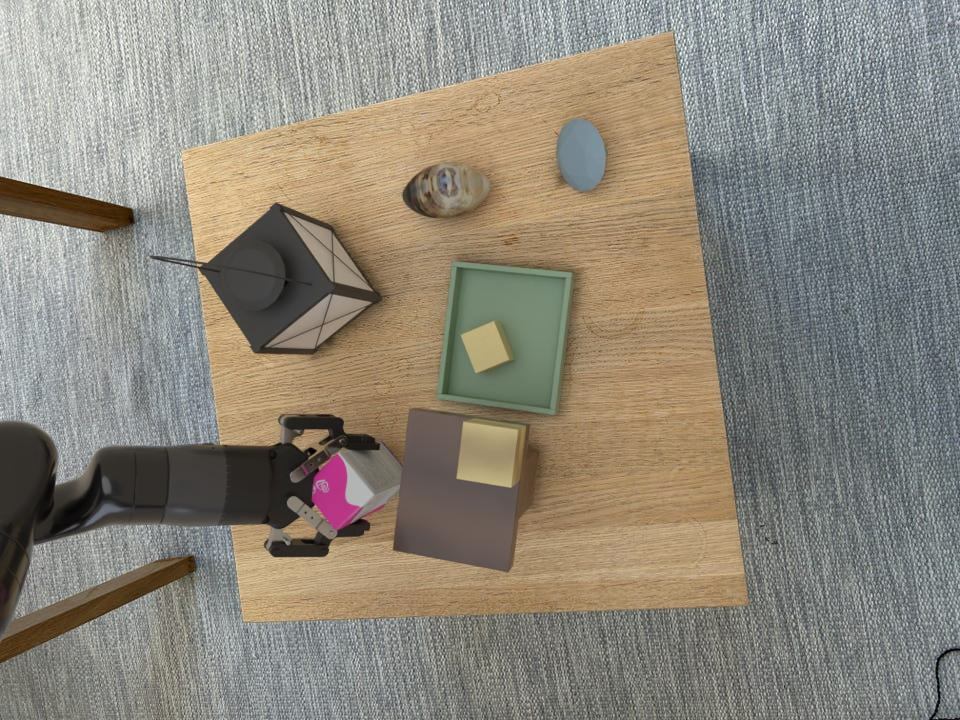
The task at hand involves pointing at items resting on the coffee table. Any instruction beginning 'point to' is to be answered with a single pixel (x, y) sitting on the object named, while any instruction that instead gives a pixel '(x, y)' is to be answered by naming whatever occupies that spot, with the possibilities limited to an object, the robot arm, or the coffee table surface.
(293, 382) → the coffee table surface
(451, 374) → the butter dish
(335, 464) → the supplement box
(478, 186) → the seashell
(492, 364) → the butter pat
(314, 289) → the lantern
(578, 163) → the blue-grey stone
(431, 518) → the butter stand
